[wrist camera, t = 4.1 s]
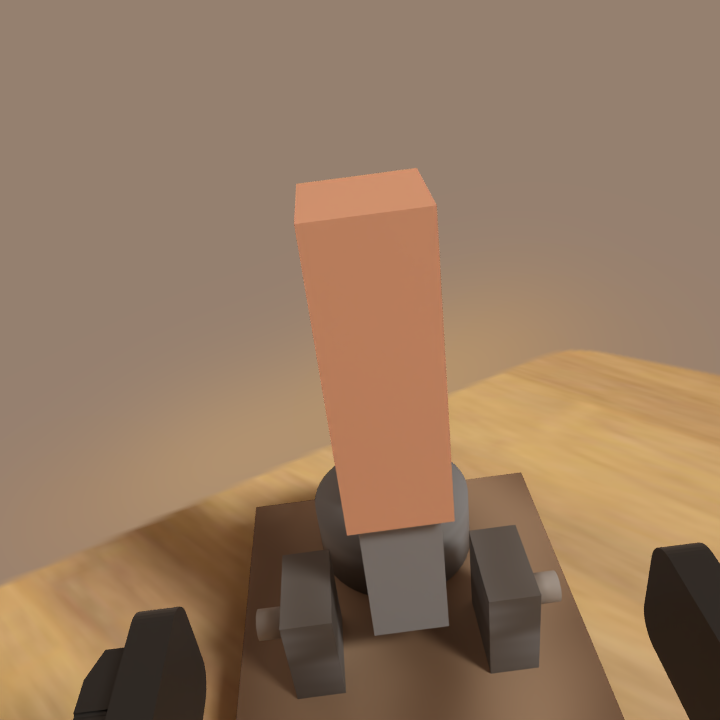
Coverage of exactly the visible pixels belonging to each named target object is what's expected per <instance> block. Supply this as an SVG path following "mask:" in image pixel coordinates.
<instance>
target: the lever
mask: <svg viewBox="0 0 720 720" xmlns="http://www.w3.org/2000/svg"><path fill="white" fill-rule="evenodd" d="M295 201H296V202H295V219H294V226H295V232H296V238H297V244H298V249H299V255H300V261H301V267H302V272H303V279H304V284H305V291H306V296H307V302H308V308H309V314H310V320H311V326H312V332H313V338H314V344H315V350H316V356H317V361H318V367H319V373H320V379H321V385H322V391H323V397H324V403H325V408H326V414H327V420H328V426H329V432H330V437H331V444H332V450H333V456H334V462H335V468H336V473H337V479H338V485H339V491H340V497H341V503H342V509H343V515H344V521H345V527H346V532H347V536H348V535H355V534H359V539H360V546H361V552H362V558H363V565H364V571H365V577H366V584H367V590H368V596H369V603H370V609H371V615H372V622H373V628H374V635H375V636H377V635H385V634H392V633H400V632H407V631H415V630H422V629H430V628H438V627H445V626H449V618H448V604H447V590H446V576H445V561H444V547H443V533H442V523H446V522H454V521H455V517H454V500H453V482H452V465H451V447H450V430H449V412H448V395H447V377H446V362H445V361H446V360H445V343H444V327H443V307H442V291H441V273H440V255H439V237H438V219H437V205H436V203H435V201H434V199H433V198H432V196H431V194H430V192H429V190H428V188H427V186H426V184H425V182H424V181H423V179H422V177H421V175H420V173H419V171H418V169H417V168H413V169H406V170H398V171H390V172H383V173H376V174H368V175H360V176H353V177H345V178H338V179H330V180H323V181H315V182H307V183H300V184H296V200H295Z"/></svg>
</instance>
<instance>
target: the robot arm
mask: <svg viewBox="0 0 720 720" xmlns="http://www.w3.org/2000/svg"><path fill="white" fill-rule="evenodd" d="M644 617H645V623H646V628H647V631H648V635H649V638H650V640H651V643H652V645H653V647H654V649H655V651H656V653H657V655H658V657H659V659H660V661H661V663H662V665H663V667H664V669H665V671H666V673H667V675H668V677H669V679H670V681H671V683H672V685H673V687H674V689H675V691H676V693H677V695H678V697H679V699H680V701H681V703H682V705H683V707H684V709H685V711H686V713H687V715H688V717H689V719H690V720H720V563H719V562H718V560H717V559H716V557H715V556H714V554H713V553H712V552H711V550H710V549H709V548H708V547H707V546H706V545H705V544H703V543H692V544H684V545H676V546H668V547H660V548H656V549H655V550H654V551H653V553H652V558H651V565H650V571H649V578H648V584H647V591H646V597H645V603H644ZM205 700H206V673H205V666H204V661H203V658H202V656H201V653H200V650H199V647H198V645H197V642H196V639H195V636H194V634H193V631H192V628H191V625H190V623H189V620H188V617H187V614H186V612H185V610H184V608H182V607H174V608H166V609H158V610H150V611H142V612H137V613H136V614H135V616H134V617H133V619H132V622H131V626H130V629H129V633H128V637H127V640H126V644H125V648H118V649H110V650H105V651H104V653H103V654H102V656H101V657H100V658H99V660H98V661H97V663H96V664H95V665H94V667H93V668H92V670H91V671H90V672H89V674H88V675H87V677H86V678H85V679H84V682H83V685H82V688H81V691H80V694H79V698H78V701H77V704H76V707H75V710H74V713H73V714H74V719H73V720H203V714H204V707H205Z"/></svg>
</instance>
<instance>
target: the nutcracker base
mask: <svg viewBox="0 0 720 720" xmlns="http://www.w3.org/2000/svg"><path fill="white" fill-rule="evenodd" d="M451 465H452V482H453V500H454V517H455V521H454V522H446V523H442V533H443V547H444V561H445V576H446V590H447V604H448V618H449V626H445V627H438V628H430V629H422V630H415V631H407V632H400V633H392V634H385V635H377V636H375V635H374V628H373V622H372V615H371V609H370V603H369V596H368V590H367V584H366V577H365V571H364V565H363V558H362V552H361V546H360V539H359V534H355V535H348V536H347V532H346V527H345V521H344V515H343V509H342V503H341V497H340V491H339V485H338V479H337V473H336V468H335V466H334V467H333V468H332V469H331V470H330V471H329V472H328V473H327V474H326V475H325V476H324V478H323V479H322V481H321V483H320V485H319V487H318V489H317V492H316V496H315V500H309V501H301V502H294V503H286V504H279V505H271V506H264V507H256V516H255V527H254V537H253V548H252V559H251V569H250V580H249V590H248V601H247V611H246V622H245V633H244V643H243V654H242V664H241V675H240V685H239V696H238V706H237V717H236V720H624V717H623V715H622V712H621V710H620V708H619V705H618V703H617V700H616V698H615V696H614V693H613V691H612V689H611V686H610V684H609V681H608V679H607V677H606V674H605V672H604V669H603V667H602V665H601V662H600V660H599V657H598V655H597V653H596V650H595V648H594V646H593V643H592V641H591V638H590V636H589V634H588V631H587V629H586V626H585V624H584V622H583V619H582V617H581V615H580V612H579V610H578V607H577V605H576V603H575V600H574V598H573V595H572V593H571V591H570V588H569V586H568V583H567V581H566V579H565V576H564V574H563V572H562V569H561V567H560V564H559V562H558V560H557V557H556V555H555V552H554V550H553V548H552V545H551V543H550V541H549V538H548V536H547V533H546V531H545V529H544V526H543V524H542V521H541V519H540V517H539V514H538V512H537V509H536V507H535V505H534V502H533V500H532V498H531V495H530V493H529V490H528V488H527V486H526V483H525V481H524V478H523V476H522V474H521V473H514V474H506V475H499V476H491V477H483V478H476V479H468V480H465V478H464V476H463V474H462V473H461V471H460V470H459V469H458V468H457V467H456V465H455V464H453V463H452V462H451Z"/></svg>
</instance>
